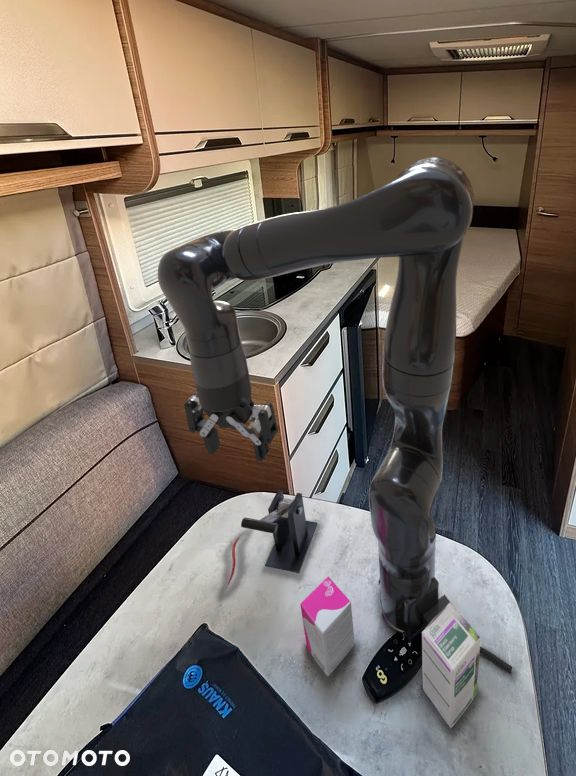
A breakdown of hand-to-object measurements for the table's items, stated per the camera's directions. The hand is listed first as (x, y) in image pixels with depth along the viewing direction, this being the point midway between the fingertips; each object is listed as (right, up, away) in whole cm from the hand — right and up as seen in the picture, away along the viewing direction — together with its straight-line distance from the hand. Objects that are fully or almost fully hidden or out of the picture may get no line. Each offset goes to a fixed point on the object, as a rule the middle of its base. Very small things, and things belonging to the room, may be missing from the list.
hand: (238, 453), depth 65 cm
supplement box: (+15, -31, 0) cm, 35 cm away
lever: (+4, -15, +6) cm, 17 cm away
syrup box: (+33, -33, -6) cm, 47 cm away
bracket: (+6, -26, +15) cm, 30 cm away
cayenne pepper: (-5, -27, +13) cm, 30 cm away
